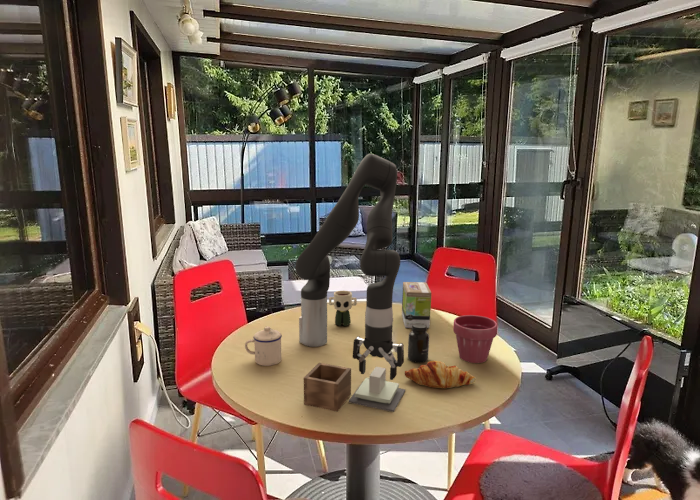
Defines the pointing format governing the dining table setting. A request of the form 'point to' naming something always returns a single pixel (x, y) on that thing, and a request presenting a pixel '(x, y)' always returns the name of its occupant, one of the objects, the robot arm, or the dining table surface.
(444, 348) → the dining table surface
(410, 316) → the tea box
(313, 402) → the walnut box
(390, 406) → the rubber pad
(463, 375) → the croissant
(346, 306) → the character mug
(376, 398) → the lid
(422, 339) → the supplement bottle
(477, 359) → the plant pot
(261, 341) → the teacup with lid
